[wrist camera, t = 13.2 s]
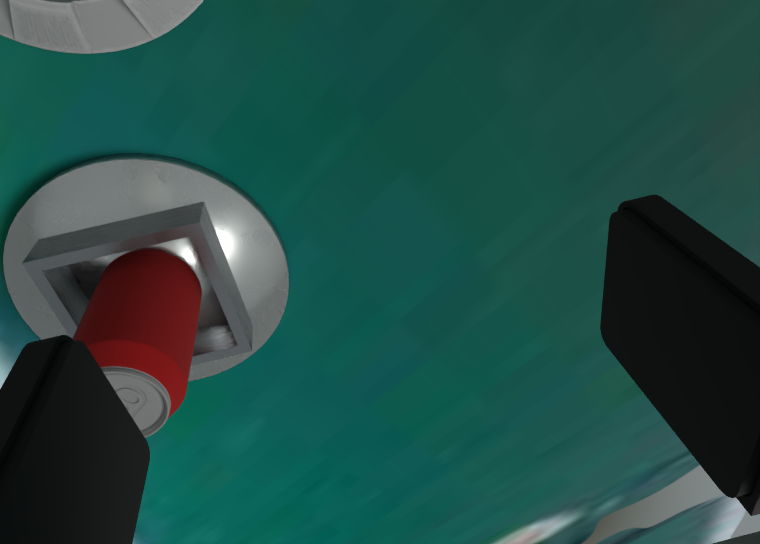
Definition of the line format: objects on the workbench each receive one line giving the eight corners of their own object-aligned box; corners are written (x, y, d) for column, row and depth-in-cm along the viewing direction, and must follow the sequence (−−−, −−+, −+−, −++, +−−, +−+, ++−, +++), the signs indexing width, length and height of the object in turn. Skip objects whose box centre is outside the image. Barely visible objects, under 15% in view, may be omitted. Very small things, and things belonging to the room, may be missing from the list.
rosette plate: (-52, 190, 34) (-87, 222, 31) (245, 124, 35) (243, 147, 32) (88, 396, 45) (74, 436, 42) (313, 341, 46) (317, 376, 43)
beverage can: (81, 283, 38) (16, 411, 28) (148, 225, 37) (105, 339, 27) (158, 336, 42) (125, 467, 32) (223, 285, 40) (209, 406, 30)
